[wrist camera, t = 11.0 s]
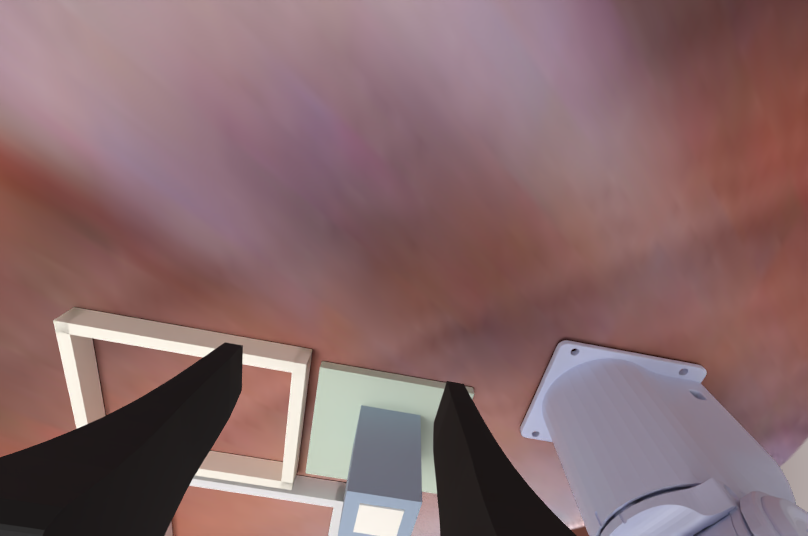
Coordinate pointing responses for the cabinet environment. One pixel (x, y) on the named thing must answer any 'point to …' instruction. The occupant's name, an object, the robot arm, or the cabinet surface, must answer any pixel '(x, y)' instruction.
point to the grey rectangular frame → (286, 494)
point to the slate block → (383, 475)
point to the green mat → (341, 409)
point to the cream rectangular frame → (88, 324)
